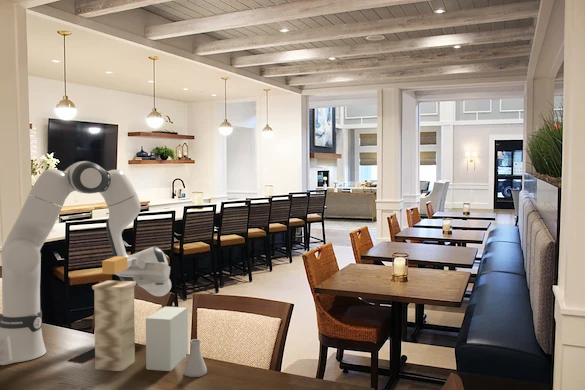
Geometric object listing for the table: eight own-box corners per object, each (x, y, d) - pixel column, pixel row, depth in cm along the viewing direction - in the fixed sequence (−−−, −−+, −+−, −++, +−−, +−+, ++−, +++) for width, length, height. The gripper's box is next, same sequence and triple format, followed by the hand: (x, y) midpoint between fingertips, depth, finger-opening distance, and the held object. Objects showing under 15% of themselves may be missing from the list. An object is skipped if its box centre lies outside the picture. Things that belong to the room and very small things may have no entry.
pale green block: (146, 369, 156) (145, 318, 156) (165, 353, 170) (164, 306, 169) (170, 371, 155) (170, 319, 154) (187, 355, 169) (187, 307, 168)
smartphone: (65, 360, 163) (96, 346, 176) (65, 362, 163) (96, 348, 176) (82, 363, 161) (112, 349, 174) (82, 365, 161) (112, 350, 174)
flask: (202, 379, 149) (202, 345, 149) (179, 376, 151) (179, 343, 150) (211, 369, 156) (211, 337, 156) (189, 367, 158) (189, 336, 157)
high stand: (93, 369, 156) (92, 285, 155) (108, 359, 164) (107, 280, 163) (123, 371, 154) (122, 287, 153) (136, 361, 163) (135, 281, 162)
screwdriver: (114, 274, 154) (114, 261, 154) (102, 273, 155) (102, 260, 155) (140, 263, 171) (140, 251, 171) (129, 263, 172) (129, 251, 172)
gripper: (121, 265, 183) (103, 251, 171) (174, 267, 179) (160, 253, 167) (117, 282, 180) (98, 269, 168) (171, 284, 177) (156, 271, 164)
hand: (129, 261), depth 168 cm, fingers closed on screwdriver, 2 cm apart
